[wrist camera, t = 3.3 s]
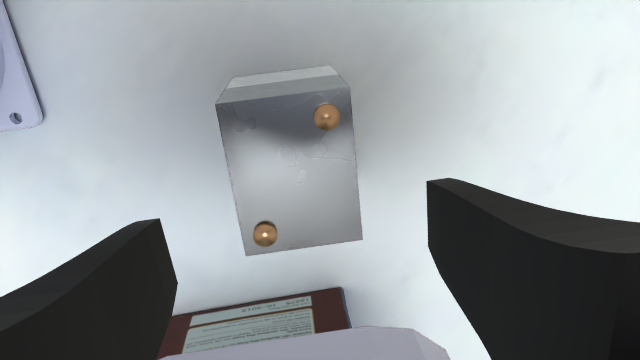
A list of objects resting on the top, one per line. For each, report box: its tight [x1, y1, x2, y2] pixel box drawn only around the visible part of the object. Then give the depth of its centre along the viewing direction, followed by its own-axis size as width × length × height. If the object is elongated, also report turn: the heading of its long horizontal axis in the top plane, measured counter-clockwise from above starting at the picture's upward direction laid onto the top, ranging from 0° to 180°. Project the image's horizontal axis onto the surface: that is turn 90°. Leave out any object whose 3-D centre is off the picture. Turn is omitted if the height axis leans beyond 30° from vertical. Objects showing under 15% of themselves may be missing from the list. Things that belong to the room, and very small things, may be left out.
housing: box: [215, 65, 363, 256], centre depth 19 cm, size 5×6×6 cm
